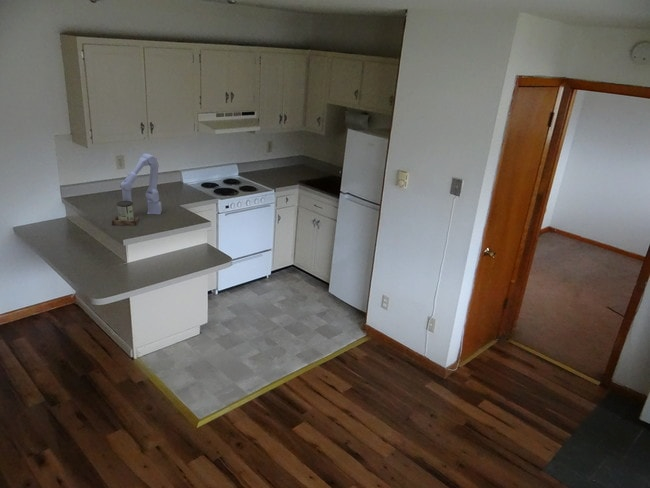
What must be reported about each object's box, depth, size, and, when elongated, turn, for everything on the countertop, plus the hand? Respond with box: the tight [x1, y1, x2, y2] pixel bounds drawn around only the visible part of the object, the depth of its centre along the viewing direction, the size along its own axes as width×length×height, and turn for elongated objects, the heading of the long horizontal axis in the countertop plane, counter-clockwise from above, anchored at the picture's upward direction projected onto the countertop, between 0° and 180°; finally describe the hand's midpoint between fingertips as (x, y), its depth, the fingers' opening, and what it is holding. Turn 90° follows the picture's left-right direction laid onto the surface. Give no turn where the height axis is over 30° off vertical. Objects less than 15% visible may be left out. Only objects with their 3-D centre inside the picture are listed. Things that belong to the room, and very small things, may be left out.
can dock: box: [111, 215, 140, 226], centre depth 347 cm, size 16×10×3 cm, turn 99°
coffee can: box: [116, 200, 135, 220], centre depth 346 cm, size 10×10×14 cm
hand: (128, 216), depth 356 cm, fingers closed
